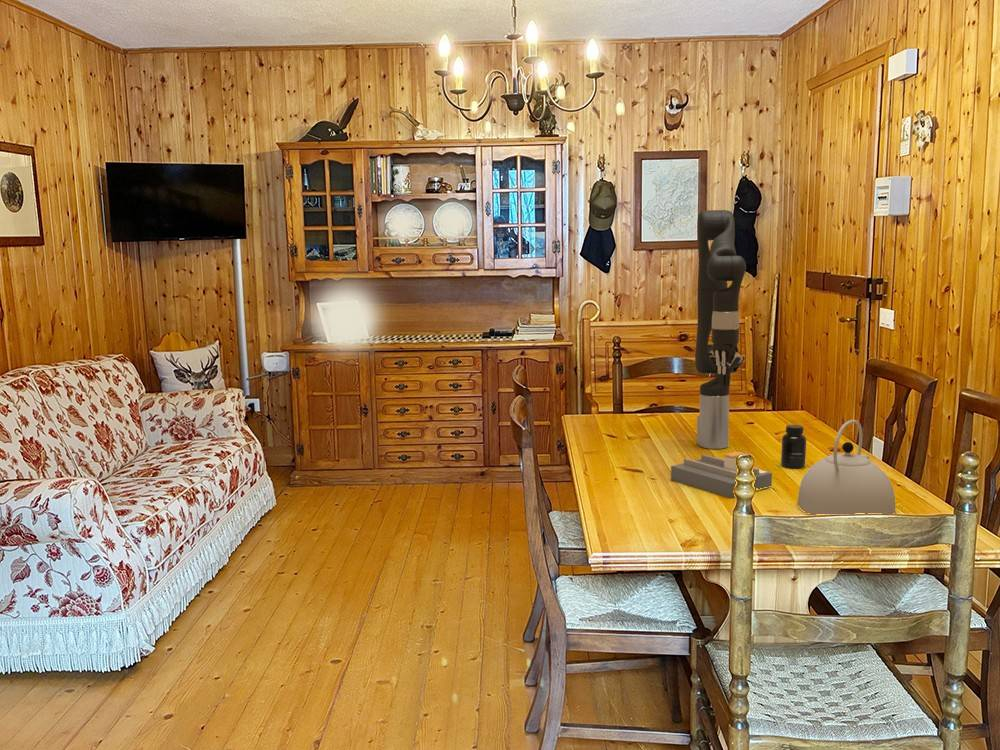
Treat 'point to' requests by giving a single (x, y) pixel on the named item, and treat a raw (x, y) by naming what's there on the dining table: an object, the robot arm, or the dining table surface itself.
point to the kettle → (846, 483)
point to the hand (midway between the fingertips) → (724, 386)
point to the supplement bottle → (793, 447)
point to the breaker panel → (714, 475)
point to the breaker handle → (731, 461)
